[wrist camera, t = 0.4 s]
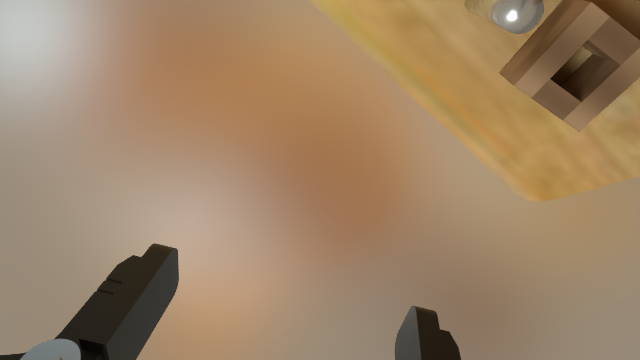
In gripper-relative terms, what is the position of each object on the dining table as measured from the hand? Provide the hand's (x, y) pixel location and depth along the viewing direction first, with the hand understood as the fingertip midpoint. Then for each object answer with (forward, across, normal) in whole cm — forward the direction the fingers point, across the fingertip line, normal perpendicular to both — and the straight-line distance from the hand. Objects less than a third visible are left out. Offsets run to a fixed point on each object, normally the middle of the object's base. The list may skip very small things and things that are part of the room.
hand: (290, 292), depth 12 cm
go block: (+26, -18, -6) cm, 32 cm away
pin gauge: (+26, -9, -9) cm, 29 cm away
